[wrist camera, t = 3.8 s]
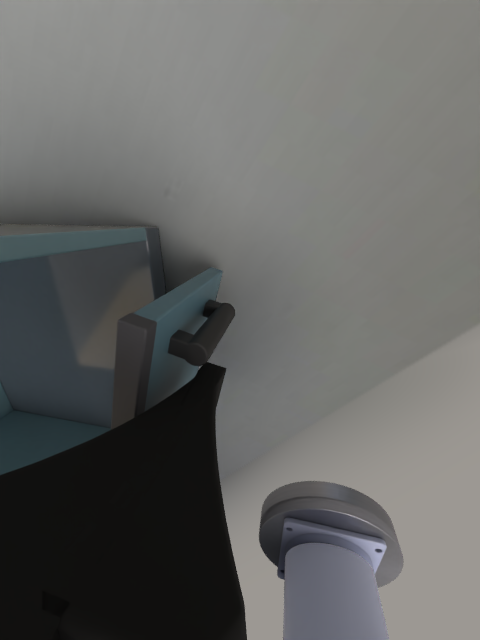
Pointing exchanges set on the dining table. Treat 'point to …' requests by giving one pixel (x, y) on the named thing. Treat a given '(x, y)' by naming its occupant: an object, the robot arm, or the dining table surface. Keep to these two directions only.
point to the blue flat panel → (166, 344)
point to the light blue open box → (65, 329)
